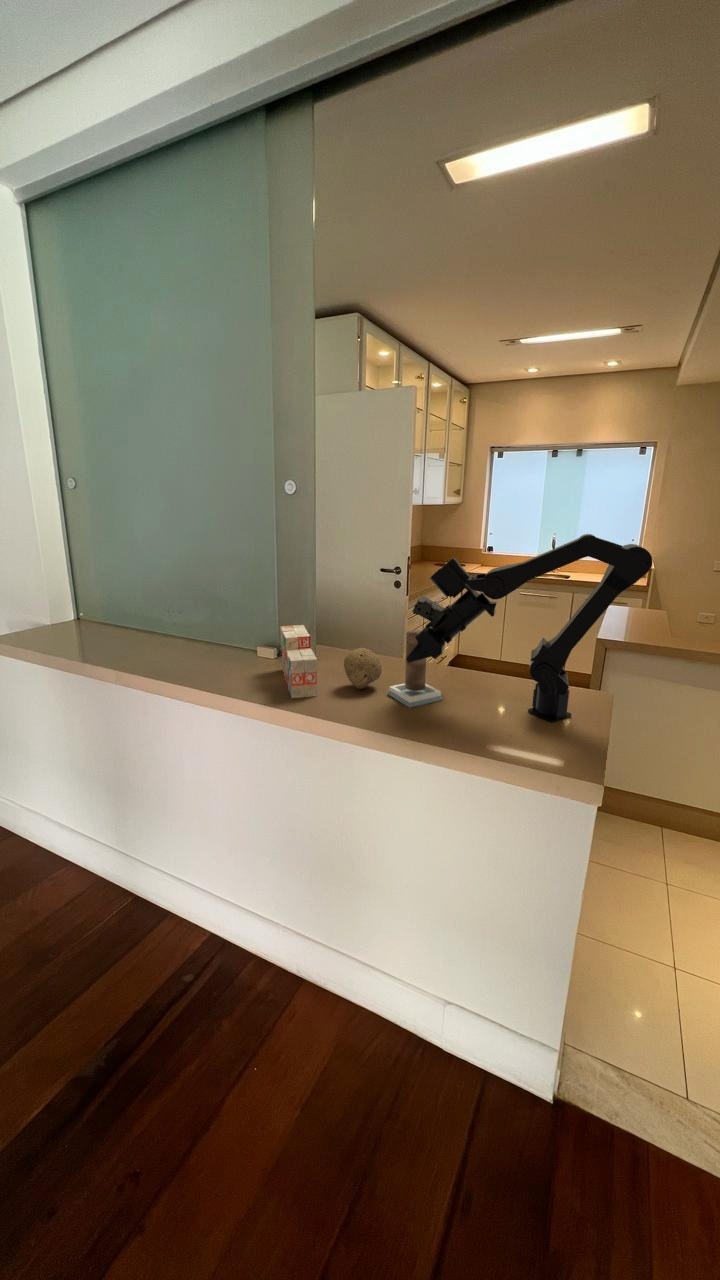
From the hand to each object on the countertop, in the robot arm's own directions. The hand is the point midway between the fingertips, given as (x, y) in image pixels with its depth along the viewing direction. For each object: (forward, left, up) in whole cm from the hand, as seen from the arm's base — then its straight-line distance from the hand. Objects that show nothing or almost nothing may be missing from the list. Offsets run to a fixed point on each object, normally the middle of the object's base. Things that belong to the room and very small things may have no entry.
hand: (410, 657), depth 117 cm
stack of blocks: (+22, +19, -10) cm, 30 cm away
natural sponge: (+10, +7, -10) cm, 15 cm away
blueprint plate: (-1, -1, -9) cm, 10 cm away
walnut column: (-1, -1, -7) cm, 7 cm away
